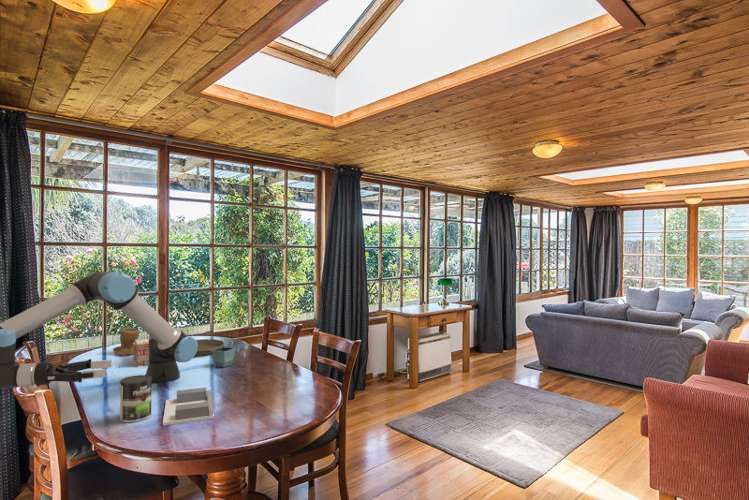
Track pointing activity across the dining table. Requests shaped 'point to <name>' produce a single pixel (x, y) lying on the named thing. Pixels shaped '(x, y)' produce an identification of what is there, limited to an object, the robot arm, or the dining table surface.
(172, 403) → the mounting board
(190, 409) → the block
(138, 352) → the tan printed box
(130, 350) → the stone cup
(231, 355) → the flower pot
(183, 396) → the block
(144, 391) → the coffee can
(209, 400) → the metal rail
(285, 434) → the dining table surface
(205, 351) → the plant saucer
